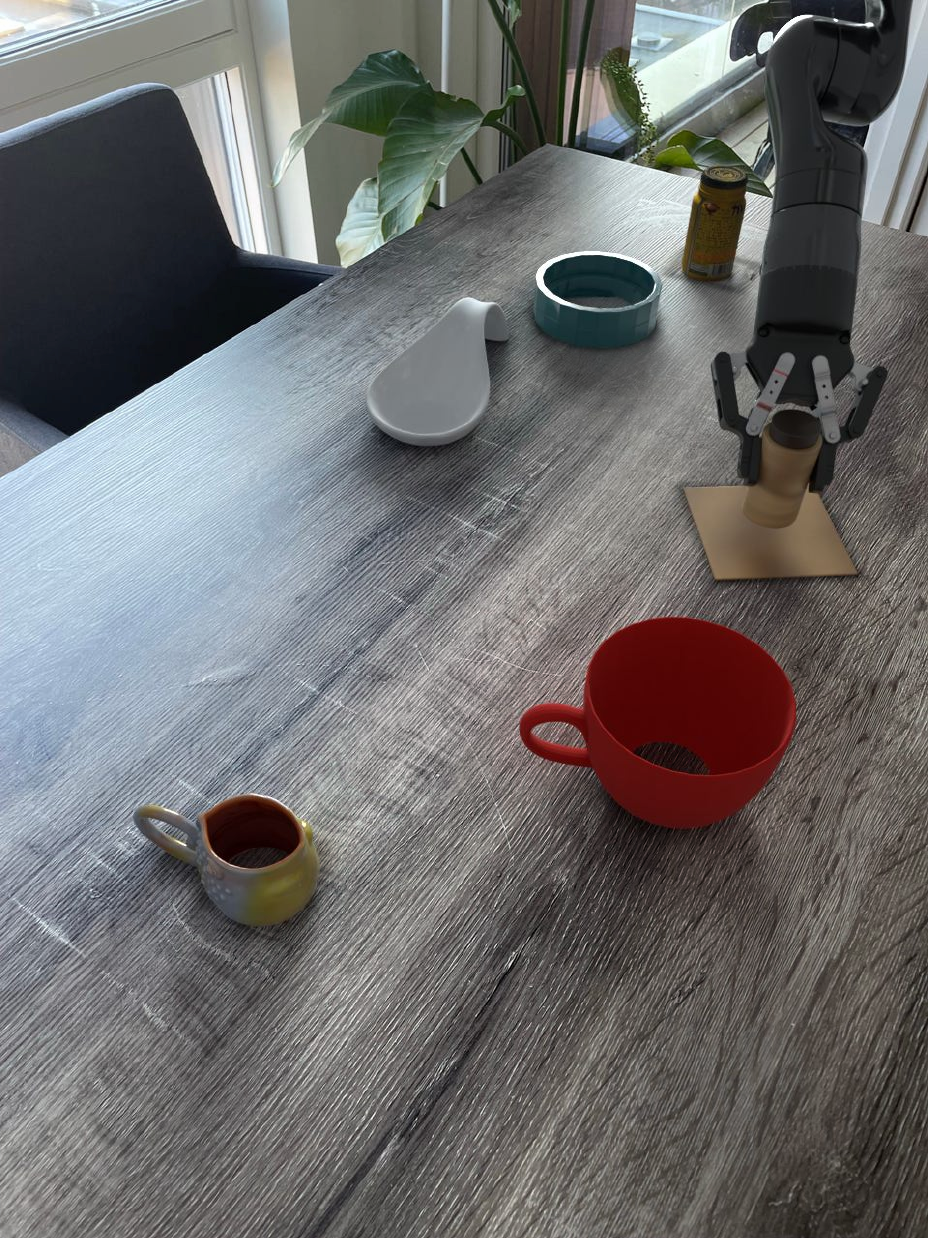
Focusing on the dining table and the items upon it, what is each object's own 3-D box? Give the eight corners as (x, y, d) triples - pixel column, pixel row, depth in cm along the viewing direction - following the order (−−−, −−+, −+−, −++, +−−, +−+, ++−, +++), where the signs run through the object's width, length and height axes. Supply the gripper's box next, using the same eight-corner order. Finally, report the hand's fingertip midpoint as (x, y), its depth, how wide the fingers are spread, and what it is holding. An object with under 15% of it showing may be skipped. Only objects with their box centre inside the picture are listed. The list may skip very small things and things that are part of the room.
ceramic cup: (504, 718, 72) (510, 622, 65) (733, 706, 73) (764, 611, 66) (524, 878, 63) (534, 788, 56) (785, 862, 64) (827, 772, 57)
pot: (642, 291, 117) (648, 250, 113) (666, 352, 108) (674, 310, 104) (526, 293, 116) (529, 252, 113) (541, 356, 107) (544, 313, 103)
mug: (341, 859, 64) (332, 801, 59) (290, 953, 60) (276, 898, 55) (180, 800, 67) (160, 740, 62) (120, 886, 63) (93, 829, 58)
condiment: (687, 256, 123) (705, 156, 115) (754, 271, 121) (778, 170, 112) (668, 281, 119) (685, 179, 110) (737, 297, 116) (761, 194, 108)
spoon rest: (464, 476, 92) (465, 410, 87) (347, 449, 95) (342, 384, 90) (537, 349, 108) (542, 287, 103) (436, 329, 110) (435, 267, 105)
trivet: (810, 491, 91) (813, 482, 90) (855, 582, 83) (858, 573, 82) (680, 496, 91) (682, 487, 90) (713, 588, 82) (715, 579, 81)
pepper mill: (787, 493, 86) (816, 405, 80) (804, 528, 83) (834, 439, 77) (735, 494, 86) (760, 406, 80) (750, 529, 83) (776, 441, 77)
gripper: (726, 253, 77) (700, 473, 77) (916, 269, 76) (889, 492, 76) (710, 284, 85) (687, 485, 85) (884, 299, 83) (859, 502, 84)
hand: (783, 487), depth 81 cm, fingers closed on pepper mill, 4 cm apart
